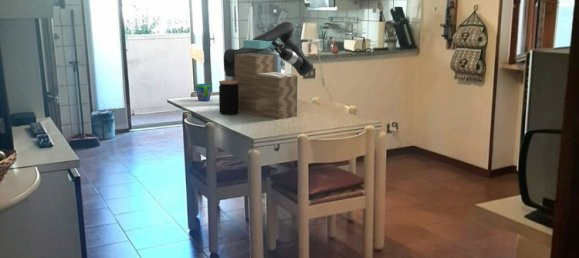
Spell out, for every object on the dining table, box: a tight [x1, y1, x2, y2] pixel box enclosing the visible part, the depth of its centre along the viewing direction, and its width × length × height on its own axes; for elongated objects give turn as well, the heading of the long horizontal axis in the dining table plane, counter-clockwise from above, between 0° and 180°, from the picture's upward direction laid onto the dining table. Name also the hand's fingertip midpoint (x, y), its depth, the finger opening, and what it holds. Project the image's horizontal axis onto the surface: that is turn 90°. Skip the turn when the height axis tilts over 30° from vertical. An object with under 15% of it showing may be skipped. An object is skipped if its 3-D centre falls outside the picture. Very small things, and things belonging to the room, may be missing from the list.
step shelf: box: [235, 53, 298, 120], centre depth 313 cm, size 14×36×32 cm, turn 45°
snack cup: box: [194, 83, 213, 102], centre depth 358 cm, size 16×10×10 cm
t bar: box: [242, 39, 280, 50], centre depth 320 cm, size 19×14×4 cm
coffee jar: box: [218, 79, 240, 116], centre depth 313 cm, size 11×11×18 cm
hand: (270, 41), depth 323 cm, fingers closed on t bar, 4 cm apart
